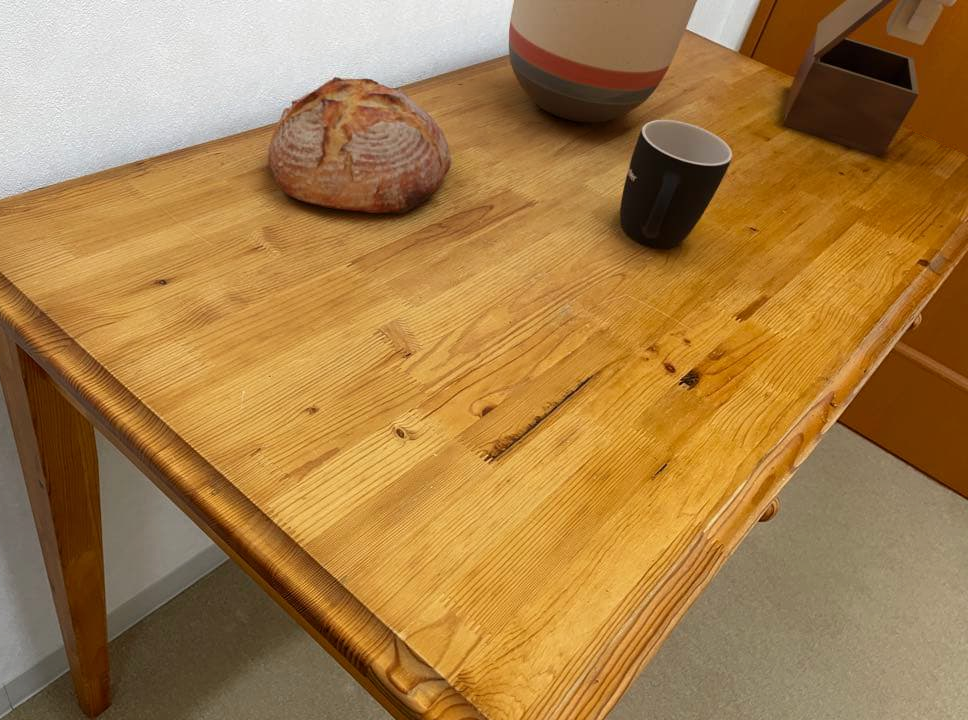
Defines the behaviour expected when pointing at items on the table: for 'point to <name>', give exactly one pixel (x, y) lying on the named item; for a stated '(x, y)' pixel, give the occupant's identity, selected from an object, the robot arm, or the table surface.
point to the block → (901, 17)
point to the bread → (358, 148)
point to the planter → (594, 52)
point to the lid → (844, 23)
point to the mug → (671, 181)
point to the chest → (852, 95)
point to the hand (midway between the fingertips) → (911, 22)
